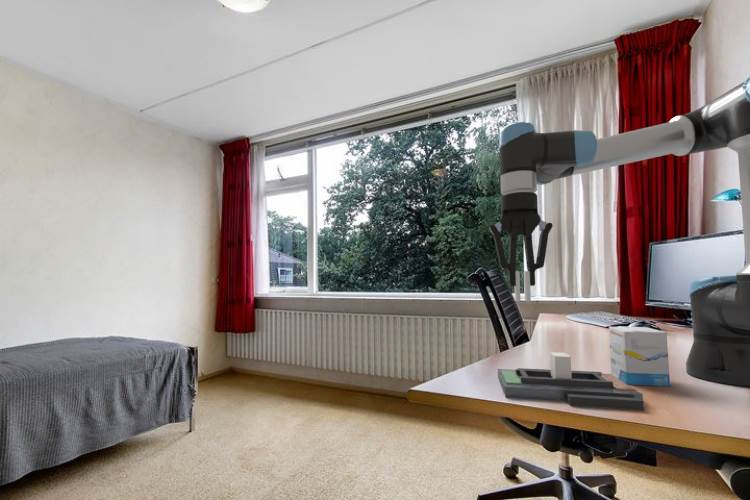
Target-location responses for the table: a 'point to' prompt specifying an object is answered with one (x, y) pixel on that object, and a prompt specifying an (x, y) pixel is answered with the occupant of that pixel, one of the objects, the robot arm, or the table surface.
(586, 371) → the dark grey slim bar
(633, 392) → the panel
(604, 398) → the dark grey bar
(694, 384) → the table surface
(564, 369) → the white rectangular block
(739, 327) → the robot arm
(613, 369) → the ink box
